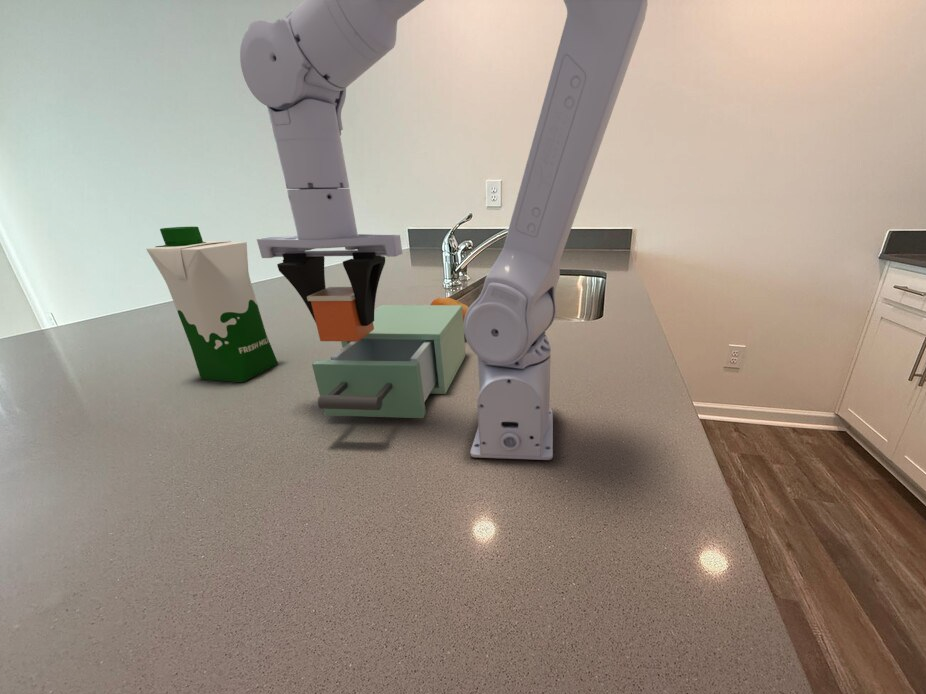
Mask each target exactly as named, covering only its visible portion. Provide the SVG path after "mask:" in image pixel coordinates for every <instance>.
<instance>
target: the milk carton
mask: <svg viewBox="0 0 926 694" xmlns="http://www.w3.org/2000/svg"><path fill="white" fill-rule="evenodd" d="M159 231H160V234H161V237H162V240H163V242H164V244H163V245H156V246H155V247H147V248H146V251H147V254H148V255H149V256H150V258H151V259H152V261H153V263H154V264H155V265H154V266H155V267H156V268H157V270H158V271H159V273H160V274H161V276H162V278H163V280H164V282H165V284H166V286H167V289H168V291H169V293H170V297H171V299H172V301H173V304H174V306H175V309H176V312H177V315H178V317H179V320H180V323H181V325H182V328H183V330H184V333H185V335H186V338H187V340H188V343H189V346H190V349H191V352H192V355H193V358H194V362H195V365H196V368H197V371H198V375H199V378H200V380H207V381H208V380H209V381H221V382H232V383H245V382H246V381H248V380H251V379H252V378H254V377H256V376H258V375H260V374H261V373H263V372H265V371H267V370H270V368H273V367H275V366H276V365H278V364H279V362H278V359H277V357H276V354H275V352H274V349H273V348H272V344H271V342H270V340H269V338H268V335H267V332H266V327H265V325H264V322H263V318H262V315H261V311H260V309H259V308H260V307H259V304H258V301H257V298H256V295H255V292H254V291H255V290H254V287H253V284H252V280H251V278H250V272H249V260H248V244H247V241H231V240H220V241H219V240H218V241H217V240H216V241H215V240H214V241H213V240H211V241H209V240H207V241H206V240H205V241H204V240H203V237H202V234H201V231H200V229H199V226H175V227H162V228H160V229H159Z"/></svg>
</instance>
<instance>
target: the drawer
mask: <svg viewBox="0 0 926 694" xmlns="http://www.w3.org/2000/svg"><path fill="white" fill-rule="evenodd" d="M311 367H312V370H313V374H314V378H315V382H316V386H317V390H318V394H319V396H318V399H317V405H318V408H319V409H322V410H323V415H324V416H331V417H332V416H335V417H336V416H337V417H338V416H339V417H367V418H368V417H369V418H371V417H372V418H373V417H374V418H406V419H410V418H411V419H423V418H424V417H425V415H426V413H427V411H426V405H425V402H426V400H427V399H428V397H429V395H431V394H430V392H431V390H432V389H433V387H434V386H435V384H436V382H437V381H438V374H437V365H436V356H435V347H434V340H398V339H361V340H360V341H351V342H350V343H349V344H347V345H346V346H345V347H343V348H341V349H339V350H338V351H336V352H335V353H334V354H332V355H331V356H330V359H317V360H315V361H313V363H311Z"/></svg>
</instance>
